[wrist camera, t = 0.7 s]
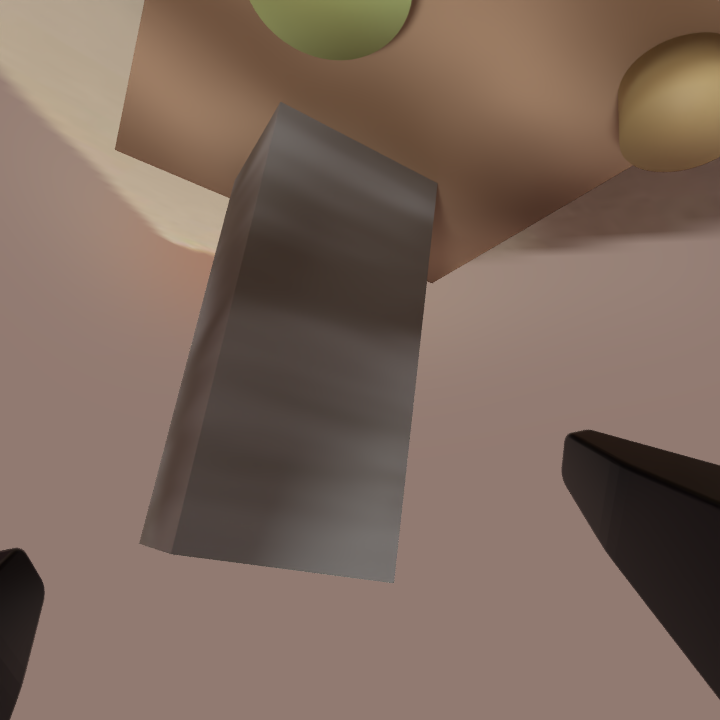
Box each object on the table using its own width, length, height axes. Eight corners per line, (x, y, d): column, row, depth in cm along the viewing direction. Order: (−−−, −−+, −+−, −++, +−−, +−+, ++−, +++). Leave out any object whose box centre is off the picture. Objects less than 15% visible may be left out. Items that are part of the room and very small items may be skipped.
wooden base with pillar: (286, -601, 6) (-348, 572, 2) (810, -18, 12) (948, 679, 7) (132, 99, 17) (-19, 521, 13) (436, 240, 22) (400, 577, 18)
